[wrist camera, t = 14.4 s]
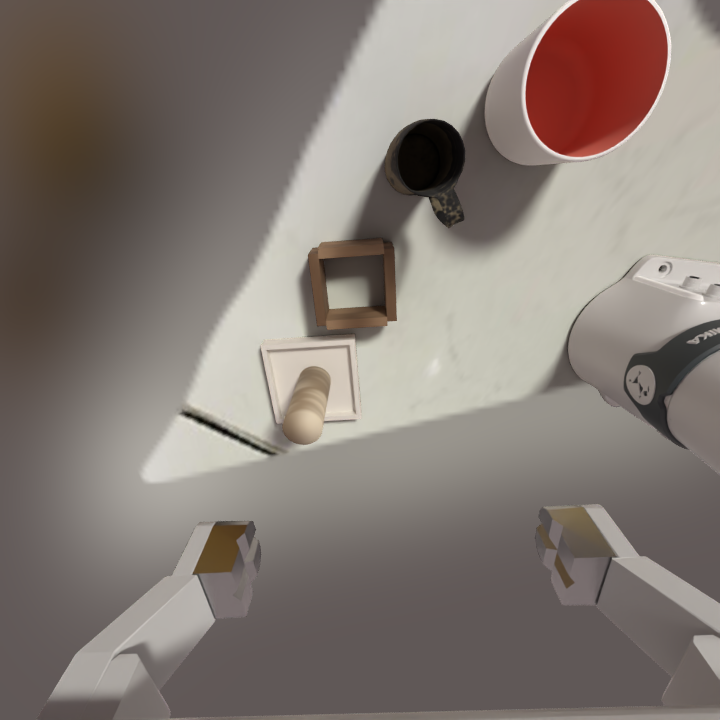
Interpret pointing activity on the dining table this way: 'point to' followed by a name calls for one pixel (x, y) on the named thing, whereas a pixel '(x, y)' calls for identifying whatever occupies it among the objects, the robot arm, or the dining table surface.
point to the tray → (322, 351)
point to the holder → (356, 315)
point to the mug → (428, 166)
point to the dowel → (307, 406)
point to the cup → (579, 82)
